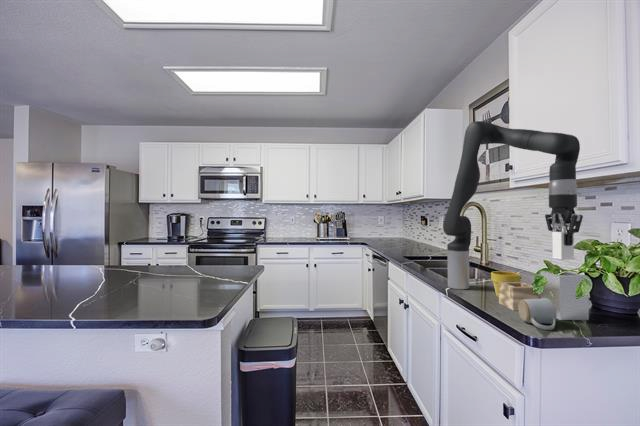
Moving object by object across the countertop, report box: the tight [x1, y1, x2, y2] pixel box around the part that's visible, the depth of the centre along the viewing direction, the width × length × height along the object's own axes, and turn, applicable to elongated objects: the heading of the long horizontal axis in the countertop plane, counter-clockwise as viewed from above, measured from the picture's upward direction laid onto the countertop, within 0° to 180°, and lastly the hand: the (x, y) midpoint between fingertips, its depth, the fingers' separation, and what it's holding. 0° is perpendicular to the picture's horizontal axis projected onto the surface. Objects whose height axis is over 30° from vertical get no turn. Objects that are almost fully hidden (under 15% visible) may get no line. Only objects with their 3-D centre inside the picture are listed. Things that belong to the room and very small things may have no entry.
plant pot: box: [490, 270, 521, 298], centre depth 128 cm, size 10×10×10 cm
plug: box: [551, 231, 575, 261], centre depth 105 cm, size 4×5×9 cm
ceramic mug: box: [517, 297, 557, 331], centre depth 97 cm, size 11×8×8 cm
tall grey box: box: [539, 270, 590, 321], centre depth 105 cm, size 9×9×14 cm
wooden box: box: [498, 281, 540, 311], centre depth 115 cm, size 9×9×8 cm
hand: (562, 244), depth 105 cm, fingers closed on plug, 4 cm apart
